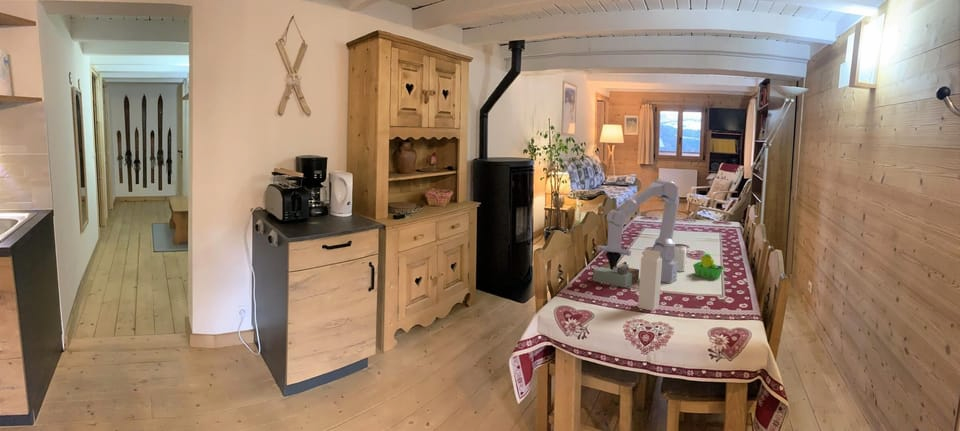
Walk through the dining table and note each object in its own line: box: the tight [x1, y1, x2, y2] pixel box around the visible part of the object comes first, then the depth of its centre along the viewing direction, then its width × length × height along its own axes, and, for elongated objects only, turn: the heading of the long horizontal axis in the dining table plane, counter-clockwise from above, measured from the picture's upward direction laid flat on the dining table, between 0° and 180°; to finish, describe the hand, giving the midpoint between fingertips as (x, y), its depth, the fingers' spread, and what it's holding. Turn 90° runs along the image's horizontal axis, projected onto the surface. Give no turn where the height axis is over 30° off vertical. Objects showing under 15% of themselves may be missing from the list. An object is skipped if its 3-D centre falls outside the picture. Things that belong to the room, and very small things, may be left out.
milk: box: [637, 249, 662, 312], centre depth 207 cm, size 6×6×22 cm
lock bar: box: [613, 261, 630, 273], centre depth 239 cm, size 11×3×3 cm, turn 140°
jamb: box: [600, 263, 640, 285], centre depth 244 cm, size 15×6×5 cm, turn 51°
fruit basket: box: [692, 253, 725, 280], centre depth 249 cm, size 11×9×11 cm
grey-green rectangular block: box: [592, 266, 633, 288], centre depth 239 cm, size 15×6×7 cm, turn 51°
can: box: [672, 243, 687, 273], centre depth 259 cm, size 6×6×12 cm
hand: (612, 269), depth 238 cm, fingers closed
